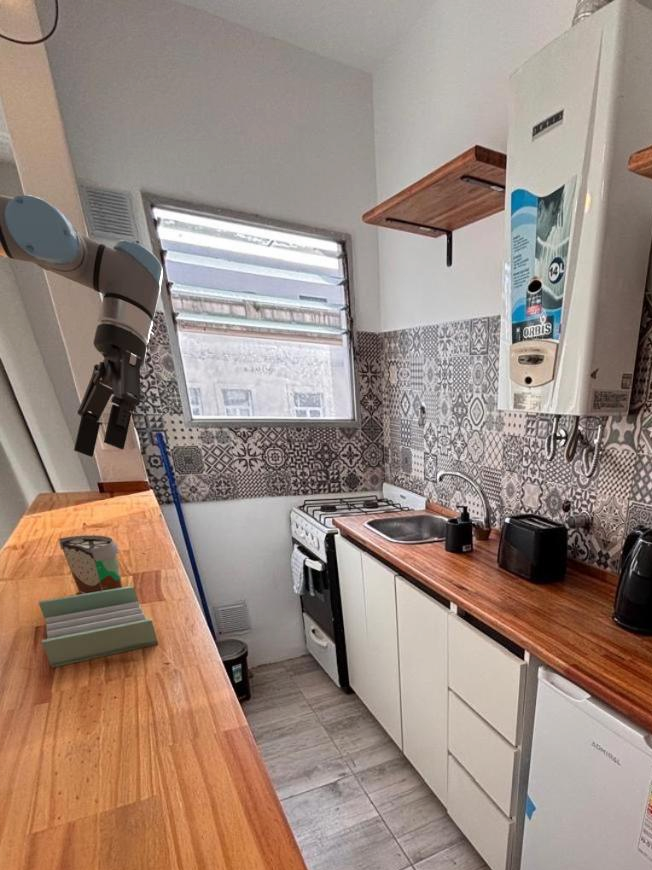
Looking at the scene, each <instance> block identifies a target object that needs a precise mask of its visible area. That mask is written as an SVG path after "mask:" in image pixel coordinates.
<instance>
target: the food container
mask: <svg viewBox="0 0 652 870" xmlns="http://www.w3.org/2000/svg"><path fill="white" fill-rule="evenodd" d="M58 543H59V547H60V550H62V552H63V554H64V557H65V559H66V562H67V565H68V567H69V570H70V572H71V575H72V578H73V580H74V583H75V586H76V588H77V591H78V593H80V594H85V593H91V592H97V591H103V590H109V589H116V588H122V587H123V582H122V577H121V573H120V567H119V562H118V558H117V555H119V553H120V551H121V550H120V548H119V547H118V545H117V543H116V541H114V540H113V538H112V537H109V536H105V535H95V534H94V535H93V534H92V535H88V534H87V535H75V536H74V535H73V536H67V537H66V536H65V537H59V538H58Z"/></svg>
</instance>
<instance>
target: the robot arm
mask: <svg viewBox="0 0 652 870" xmlns="http://www.w3.org/2000/svg"><path fill="white" fill-rule="evenodd" d="M0 257H1V258H7V259H8V258H9V259H12V260H17V261H23V262H28V263H33V264H35V265H37V266H38V267H40V268H42V269H43V270H45V271H48V272H52V273H53V274H56V275H58V276H61V277H63V278H66V279H68V280H70V281H72V282H75V283H77V284H80V285H82V286H84V287H86V288H89V289H91V290H94V291H95V292H97V293H100V294H102V295H103V299H102V301H101V306H100V309H99V314H98V318H97V323H98V324H97V326H96V329H95V333H94V338H93V347H94V348H95V350H96V351H97V352H98V353H100V354H101V355H102V357H103V358H104V359H103V361H100V362H99V364H97V363H95V365H94V366H93V370H92V374H91V377H90V380H89V382H88V385H87V387H86V390H85V392H84V395H83V397H82V401H81V402H80V405H79V408H78V410H77V415H78V416H80V421H79V426H78V430H77V434H76V438H75V444H74V448H73V451H74V452H77V453H79V454H82V455H85V456H87V457H91V458H92V457H94V453H95V448H96V444H97V440H98V435H99V431H100V426H102V425H103V421H102V419H101V416H102V414H103V413H104V411H105V408H106V406H107V405H108V403H109V401H110V402H111V403H112V404H111V406H110V413H109V417H108V420H107V426H106V430H105V435H104V438H103V443H105V444H107V445H109V446H112V447H114V448H117V449H119V450H124V449H125V445H126V441H127V436H128V432H129V427H130V423H131V418H132V412H134V410H135V407H139V405H140V404H141V368H142V367H143V366H144V365H145V361H146V357H147V352H148V346H147V345H148V344H149V341H150V338H153V337H154V332H153V331H152V328H153V323H154V320H155V315H156V311H157V306H158V302H159V299H160V294H161V288H162V283H163V282H162V281H163V276H164V270H163V265H162V264H161V261H160V260H159V258H157V256H156V255H155V254H154V253H153V252H151V251H150V250H149V249H148V248H146V247H145V246H143V245H141V244H140V243H137V242H135V241H129V240H127V239H120V240H118V241H116V243H115V244H114V246H113V247H111V246H108V245H106V244H103V243H101V242H98V241H97V240H95V239H92V238H91V237H88V236H87V235H85V234H83V233H81V232H79V231H77V230H76V229H75V227H74V225H73V224H72V222H71V221H70V220H69V218H68V217H67V216H66V215H65V214H64V213H63V212H62V211H61V210H59V208H57V207H56V206H55V205H53V204H51V203H50V202H48V201H46V200H44V199H43V198H41V197H38V196H35V195H31V194H21V195H17V196H15V197H12V196H8V195H1V194H0ZM112 395H113V396H112Z"/></svg>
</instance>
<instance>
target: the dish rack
mask: <svg viewBox="0 0 652 870" xmlns="http://www.w3.org/2000/svg"><path fill="white" fill-rule="evenodd" d="M138 598H139V597H138V595H137V591H136V588H135V586H134V585H129V586H122V588H116V589H109V590H103V591H97V592H91V593H85V594H83V593H79V594H73V595H67V596H61V597H54V598H49V599H43V600H38V605H39V609H40V611H41V613H42V616H43V618H44V621H45V628H46V630H45V631H46V638H45V639H41V644H42V647H43V649H44V651H45V654H46V657H47V659H48V662H49V665H50V667H51V668H52V669H54V668H58V667H59V668H60V667H63V666H67V665H72V664H76V663H80V662H85V661H90V660H95V659H98V658H102V657H107V656H111V655H112V656H113V655H116V654H121V653H125V652H130V651H134V650H139V649H143V648H148V647H152V646H156V645H159V641H158V637H157V634H156V629H155V627H154V621H153V619H152V618H147V617H146V615H145V613H144V611H143V609H142V607H141V605H140V603H139V599H138ZM74 662H75V663H74ZM69 663H70V664H69Z"/></svg>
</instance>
